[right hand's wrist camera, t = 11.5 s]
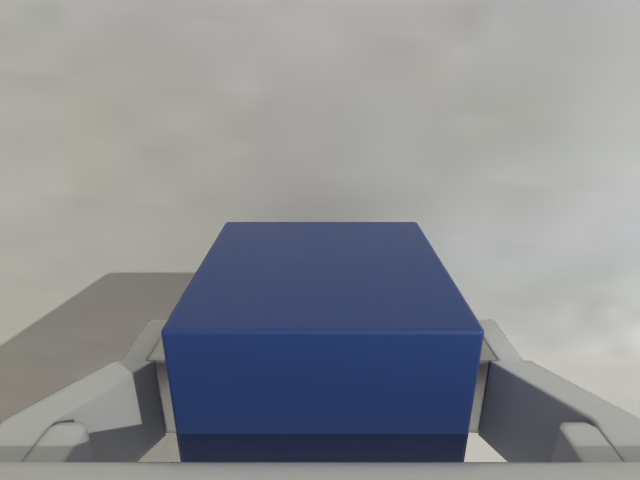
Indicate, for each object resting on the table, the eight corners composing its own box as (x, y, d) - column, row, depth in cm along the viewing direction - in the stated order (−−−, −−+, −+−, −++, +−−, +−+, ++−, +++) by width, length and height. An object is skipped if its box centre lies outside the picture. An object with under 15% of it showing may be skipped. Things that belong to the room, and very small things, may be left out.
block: (403, 381, 13) (450, 557, 8) (238, 382, 13) (193, 557, 8) (417, 221, 11) (486, 330, 7) (225, 221, 11) (158, 330, 7)
